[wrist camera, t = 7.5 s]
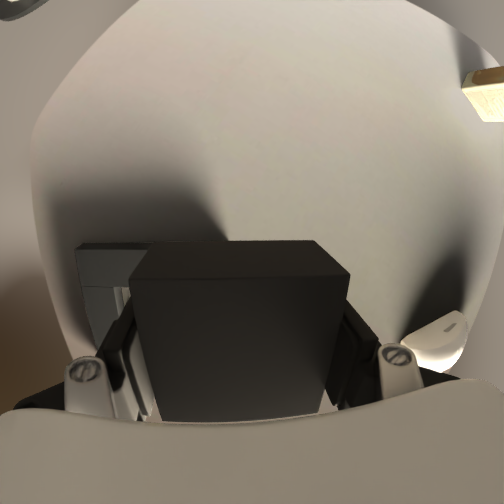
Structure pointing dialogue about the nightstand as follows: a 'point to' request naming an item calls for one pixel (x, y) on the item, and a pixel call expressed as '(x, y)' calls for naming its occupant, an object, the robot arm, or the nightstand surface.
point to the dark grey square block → (238, 327)
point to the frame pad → (106, 280)
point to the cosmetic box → (486, 92)
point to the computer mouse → (439, 341)
